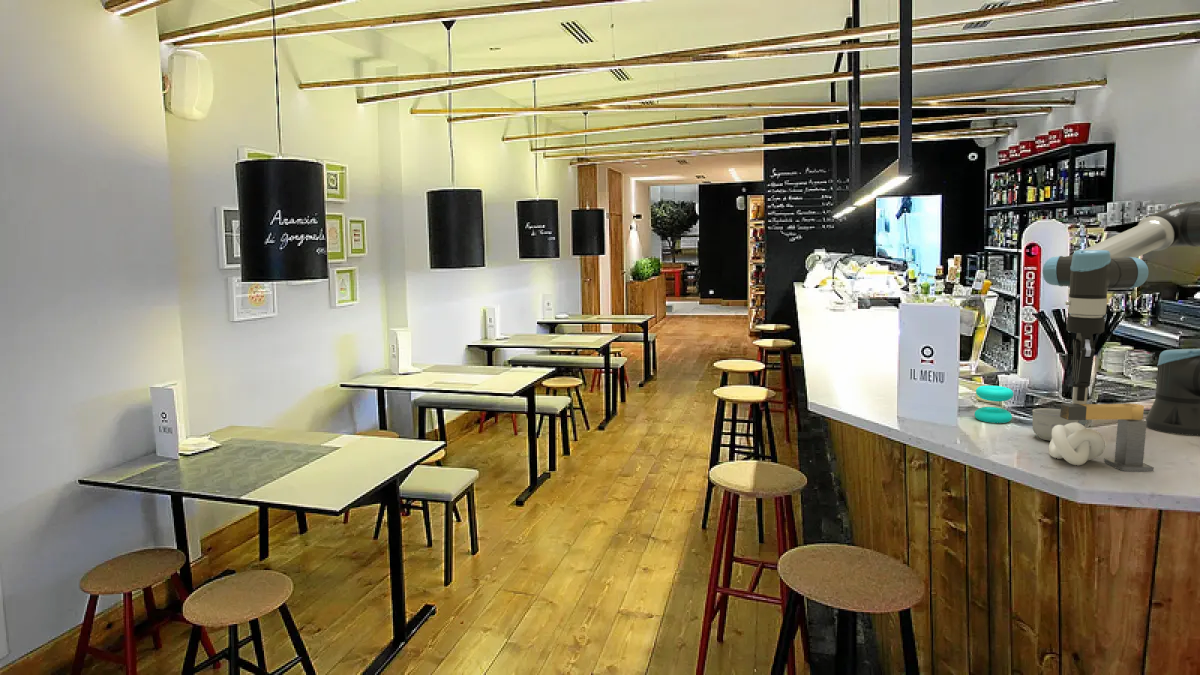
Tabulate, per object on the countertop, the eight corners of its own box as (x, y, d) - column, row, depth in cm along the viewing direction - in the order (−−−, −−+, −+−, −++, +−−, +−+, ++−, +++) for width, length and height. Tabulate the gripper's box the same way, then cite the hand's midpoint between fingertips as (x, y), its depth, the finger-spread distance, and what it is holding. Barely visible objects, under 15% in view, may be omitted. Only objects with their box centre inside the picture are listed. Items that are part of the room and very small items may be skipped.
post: (1134, 462, 178) (1138, 416, 177) (1153, 471, 171) (1157, 423, 170) (1103, 462, 179) (1107, 415, 177) (1122, 471, 172) (1126, 422, 170)
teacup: (1031, 441, 197) (1033, 412, 196) (1029, 432, 207) (1031, 404, 206) (1093, 448, 191) (1095, 418, 190) (1088, 438, 200) (1090, 409, 199)
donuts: (970, 384, 225) (1003, 384, 225) (968, 416, 226) (1001, 416, 226) (985, 391, 215) (1020, 391, 215) (983, 424, 216) (1018, 424, 216)
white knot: (1085, 471, 172) (1088, 434, 170) (1033, 459, 182) (1035, 424, 181) (1108, 463, 178) (1112, 427, 176) (1056, 452, 188) (1059, 418, 186)
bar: (1134, 416, 175) (1136, 403, 175) (1147, 420, 171) (1148, 406, 171) (1059, 416, 176) (1060, 403, 175) (1069, 420, 172) (1070, 407, 171)
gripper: (1063, 312, 180) (1056, 406, 183) (1072, 318, 169) (1064, 417, 172) (1099, 313, 177) (1091, 408, 180) (1111, 319, 165) (1102, 420, 169)
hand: (1078, 413), depth 176 cm, fingers closed
